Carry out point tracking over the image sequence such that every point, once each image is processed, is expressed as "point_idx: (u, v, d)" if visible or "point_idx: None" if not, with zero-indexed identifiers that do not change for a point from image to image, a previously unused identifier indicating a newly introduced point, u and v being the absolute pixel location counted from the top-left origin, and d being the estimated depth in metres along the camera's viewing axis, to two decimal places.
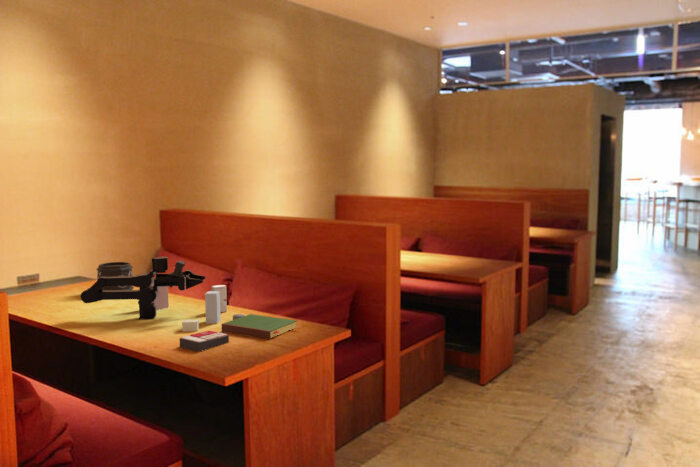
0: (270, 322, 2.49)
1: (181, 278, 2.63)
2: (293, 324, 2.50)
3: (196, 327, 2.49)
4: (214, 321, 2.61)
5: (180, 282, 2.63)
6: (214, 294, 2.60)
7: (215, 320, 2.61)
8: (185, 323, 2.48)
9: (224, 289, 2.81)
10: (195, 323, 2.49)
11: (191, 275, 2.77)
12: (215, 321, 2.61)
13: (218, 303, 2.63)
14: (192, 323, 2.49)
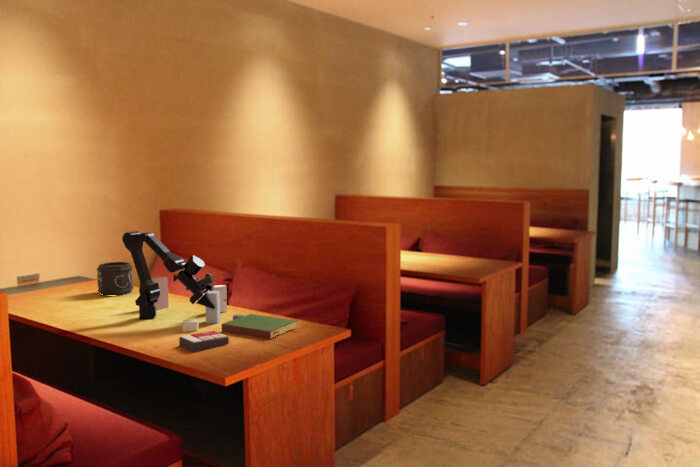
0: (270, 322, 2.49)
1: (199, 294, 2.53)
2: (293, 324, 2.51)
3: (196, 327, 2.49)
4: (214, 321, 2.61)
5: (195, 296, 2.53)
6: (214, 294, 2.60)
7: (215, 320, 2.61)
8: (185, 323, 2.48)
9: (224, 289, 2.81)
10: (195, 323, 2.49)
11: None
12: (215, 321, 2.61)
13: (218, 303, 2.63)
14: (192, 323, 2.49)
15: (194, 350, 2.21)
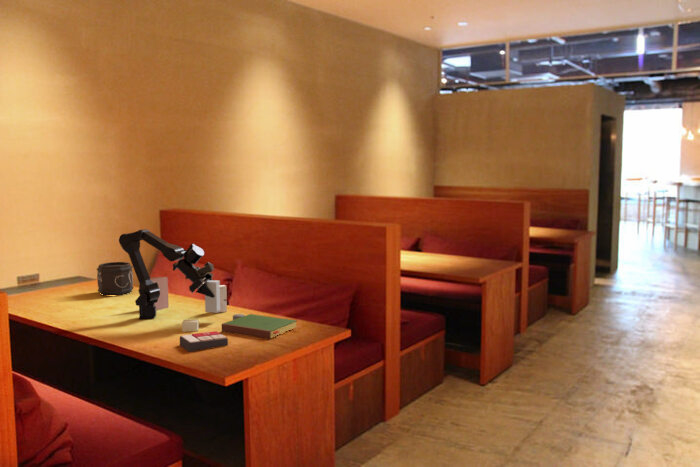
0: (270, 322, 2.49)
1: (198, 282, 2.53)
2: (293, 324, 2.51)
3: (196, 327, 2.49)
4: (213, 310, 2.60)
5: (194, 284, 2.53)
6: (214, 283, 2.59)
7: (214, 309, 2.60)
8: (185, 323, 2.48)
9: (224, 289, 2.81)
10: (195, 323, 2.49)
11: None
12: (214, 310, 2.60)
13: (218, 292, 2.62)
14: (192, 323, 2.49)
15: (190, 350, 2.21)
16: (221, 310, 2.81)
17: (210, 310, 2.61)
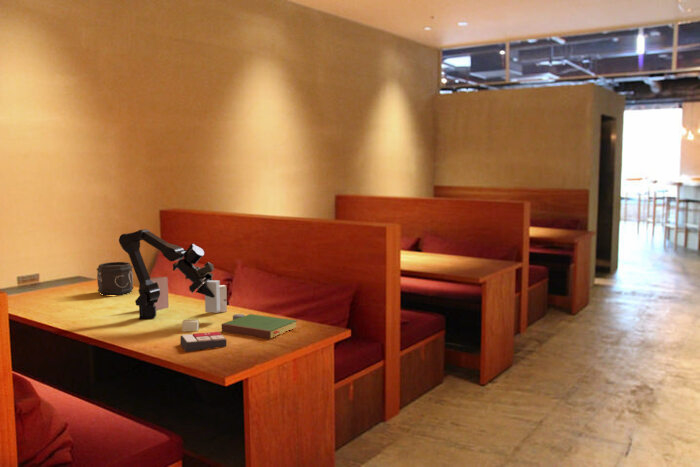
0: (270, 322, 2.49)
1: (198, 282, 2.53)
2: (293, 324, 2.51)
3: (196, 327, 2.49)
4: (213, 310, 2.60)
5: (194, 284, 2.53)
6: (214, 283, 2.59)
7: (214, 309, 2.60)
8: (185, 323, 2.48)
9: (224, 289, 2.81)
10: (195, 323, 2.49)
11: None
12: (214, 310, 2.60)
13: (218, 292, 2.62)
14: (192, 323, 2.49)
15: (187, 350, 2.21)
16: (221, 310, 2.81)
17: (210, 310, 2.61)
